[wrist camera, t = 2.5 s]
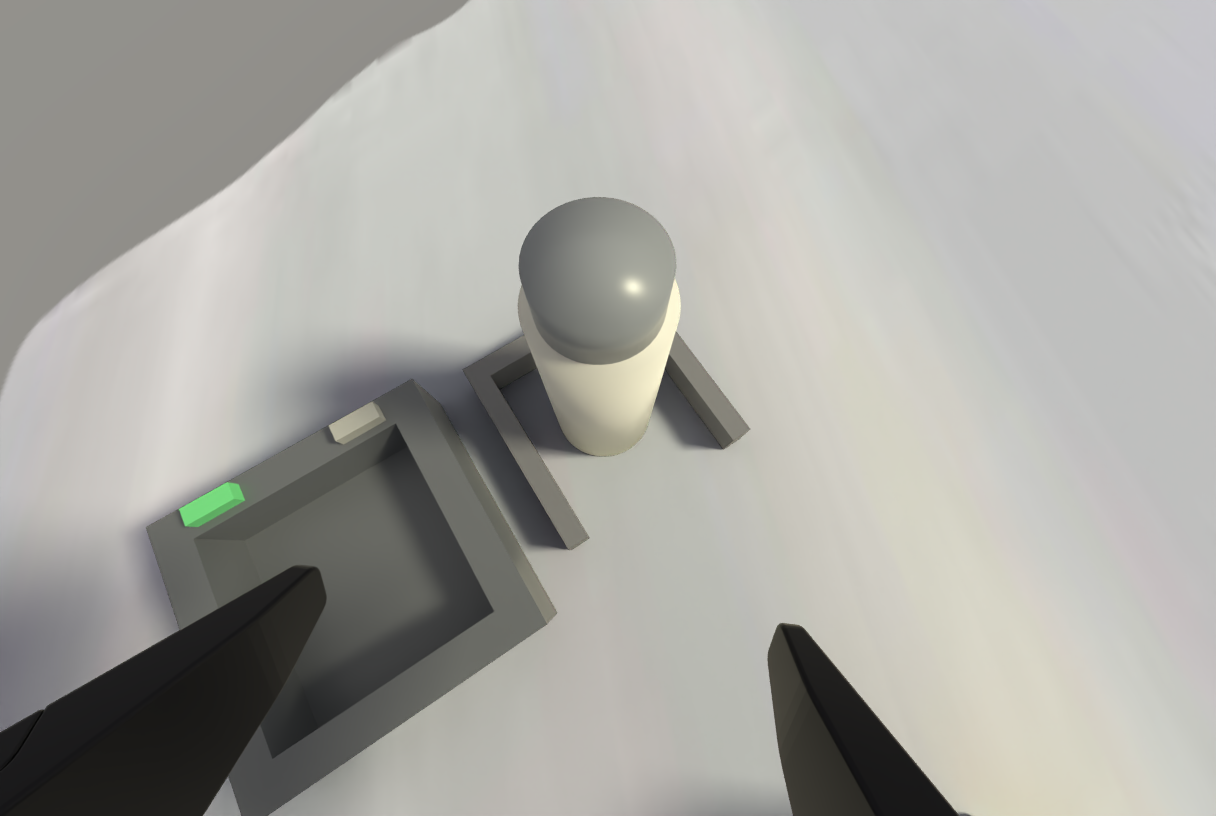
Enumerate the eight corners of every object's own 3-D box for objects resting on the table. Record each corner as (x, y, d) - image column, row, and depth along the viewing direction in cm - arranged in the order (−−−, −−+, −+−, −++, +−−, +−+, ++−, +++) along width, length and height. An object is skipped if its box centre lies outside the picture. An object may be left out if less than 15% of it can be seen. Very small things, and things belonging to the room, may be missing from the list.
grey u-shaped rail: (739, 439, 24) (750, 429, 22) (571, 549, 22) (568, 549, 20) (630, 294, 26) (632, 273, 24) (473, 384, 25) (462, 370, 23)
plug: (668, 424, 24) (730, 286, 12) (589, 474, 23) (565, 384, 11) (617, 352, 25) (624, 157, 13) (540, 398, 24) (469, 237, 12)
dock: (557, 612, 21) (545, 626, 17) (310, 781, 19) (232, 840, 15) (439, 403, 24) (406, 373, 20) (217, 531, 22) (131, 526, 18)
